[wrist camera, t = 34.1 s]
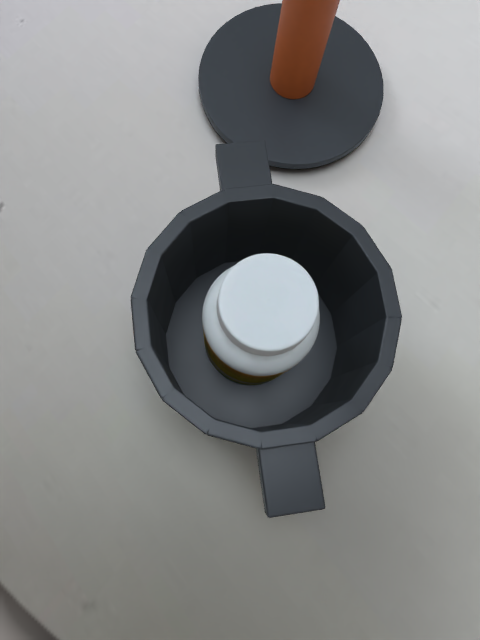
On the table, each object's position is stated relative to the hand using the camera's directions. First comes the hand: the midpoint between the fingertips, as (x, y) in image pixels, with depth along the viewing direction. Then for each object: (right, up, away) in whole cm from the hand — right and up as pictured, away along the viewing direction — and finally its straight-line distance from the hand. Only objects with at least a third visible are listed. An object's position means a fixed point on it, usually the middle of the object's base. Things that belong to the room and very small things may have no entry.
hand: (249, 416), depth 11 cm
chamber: (0, +1, +17) cm, 17 cm away
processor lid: (+3, +18, +20) cm, 27 cm away
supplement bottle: (0, +1, +17) cm, 17 cm away
